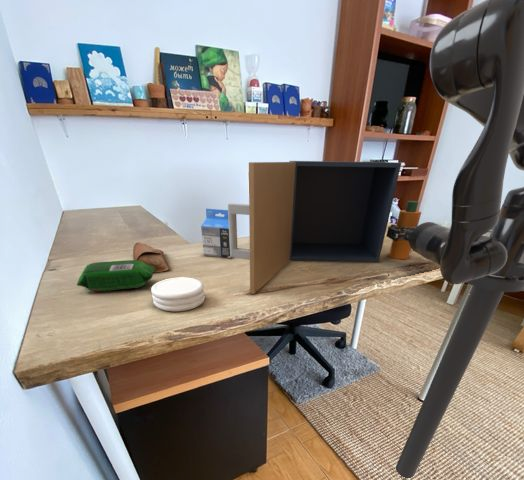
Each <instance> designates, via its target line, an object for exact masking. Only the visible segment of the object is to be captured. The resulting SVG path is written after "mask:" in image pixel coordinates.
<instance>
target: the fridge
mask: <svg viewBox="0 0 524 480" xmlns="http://www.w3.org/2000/svg"><path fill="white" fill-rule="evenodd" d="M288 162H296V165H295V181H294V197H293V213H292V229H291V245H290V261H289V262H337V263H342V262H343V263H379V262H380V259H381V255H382V249H383V245H384V241H385V237H386V234H387V229H388V223H389V219H390V216H391V210H392V206H393V202H394V197H395V193H396V189H397V184H398V180H399V175H400V171H401V167H402V162H394V161H393V162H391V161H390V162H388V161H329V160H327V161H326V160H289V161H288Z"/></svg>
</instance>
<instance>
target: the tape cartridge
mask: <svg viewBox="0 0 524 480" xmlns="http://www.w3.org/2000/svg"><path fill="white" fill-rule="evenodd" d="M219 214H221V215H223V216H221V215H219ZM200 230H201V240H202V250H203V251H202V253H203V256H207V257H216V258H217V257H218V258H224V259H225V258H226V259H232V258H233V257H230V242H229V221H228V209H218V208H217V209H216V208H205V220H204V221H203V223H202V224H201V226H200Z"/></svg>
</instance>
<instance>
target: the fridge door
mask: <svg viewBox="0 0 524 480" xmlns="http://www.w3.org/2000/svg"><path fill="white" fill-rule="evenodd" d="M295 165H296V162H289V161H251V162H250V161H249V162H248V203H246V204H245V203H231V202H230V203H227V210H228V221H229V242H230V257H232V258H234V259H242V260H243V259H244V260H249V293H250V294H253V295H255V294H256V293H257V292H258V291H260V289H261V288H262V287H264V286H265V285H266V284H267V283H268V282H269V281H270V280H271V279H272V278H273V277H275V275H276V274H277V273H278V272H279V271H281V270H282V269H283V268H284V267H285V266H286V265H287V264H288V263H289V262H291V261H290V245H291V229H292V213H293V197H294V181H295ZM237 215H244V216H248V218H249V219H248V220H249V221H248V222H249V223H248V224H249V230H248V231H249V248H241V247H238V225H237V224H238V222H237V221H238V220H237Z"/></svg>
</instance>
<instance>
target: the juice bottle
mask: <svg viewBox="0 0 524 480" xmlns="http://www.w3.org/2000/svg"><path fill="white" fill-rule="evenodd" d="M419 203H420V202H419V201H417V200H407V203H406V206H405V209H402V210H401V209H400V210H399V212H398V217H397V221H396V224H395V225H396V226H398V227H402V226H409V227H417V226H419V222H420V220H421V215H422V211H419V210H417V209H418V206H419ZM398 230H399V229H398ZM407 230H409V229H406V230H405V232H406V231H407ZM411 250H412V249H411V247H410V244H409V243H408V241H404V240H399V239H398V241H394V240H392V241H391V246H390V248H389V254H388V256H389V257H390V258H393V259H397V260H407V259H409V257H410V254H411Z"/></svg>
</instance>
